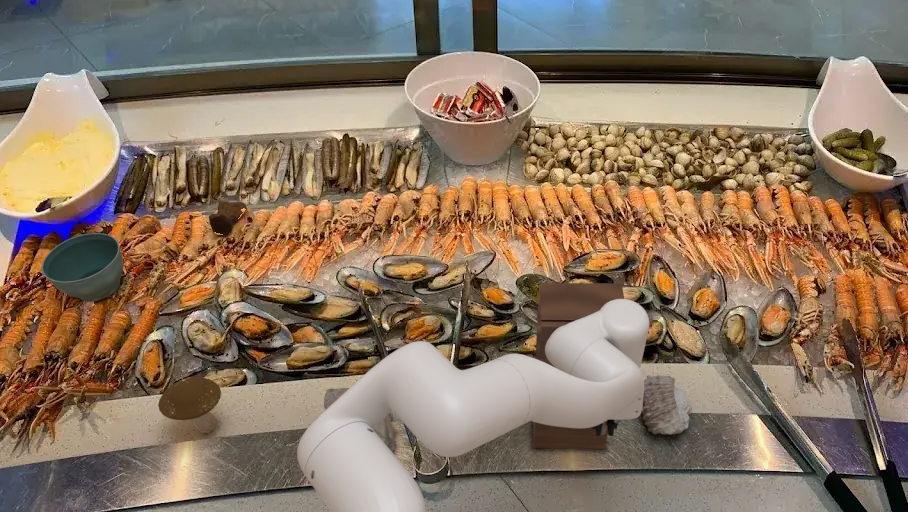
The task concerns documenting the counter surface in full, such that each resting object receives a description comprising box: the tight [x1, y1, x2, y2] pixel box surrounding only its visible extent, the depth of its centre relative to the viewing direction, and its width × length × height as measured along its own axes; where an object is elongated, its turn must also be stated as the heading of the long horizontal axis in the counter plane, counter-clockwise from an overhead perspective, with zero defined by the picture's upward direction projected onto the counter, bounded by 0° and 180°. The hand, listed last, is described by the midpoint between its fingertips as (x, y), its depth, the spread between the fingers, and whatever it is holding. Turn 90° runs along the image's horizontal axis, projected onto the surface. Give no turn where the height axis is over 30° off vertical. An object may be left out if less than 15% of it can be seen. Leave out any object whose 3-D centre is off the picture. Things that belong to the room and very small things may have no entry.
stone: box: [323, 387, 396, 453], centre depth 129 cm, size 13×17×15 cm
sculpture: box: [208, 200, 248, 238], centre depth 176 cm, size 8×10×15 cm
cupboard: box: [532, 282, 625, 435], centre depth 122 cm, size 8×14×38 cm, turn 90°
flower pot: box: [41, 232, 124, 303], centre depth 158 cm, size 16×16×11 cm
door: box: [533, 322, 609, 450], centre depth 117 cm, size 7×14×38 cm, turn 89°
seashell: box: [641, 374, 693, 435], centre depth 135 cm, size 14×9×10 cm
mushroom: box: [157, 376, 222, 434], centre depth 129 cm, size 9×11×15 cm
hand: (603, 428), depth 115 cm, fingers closed
